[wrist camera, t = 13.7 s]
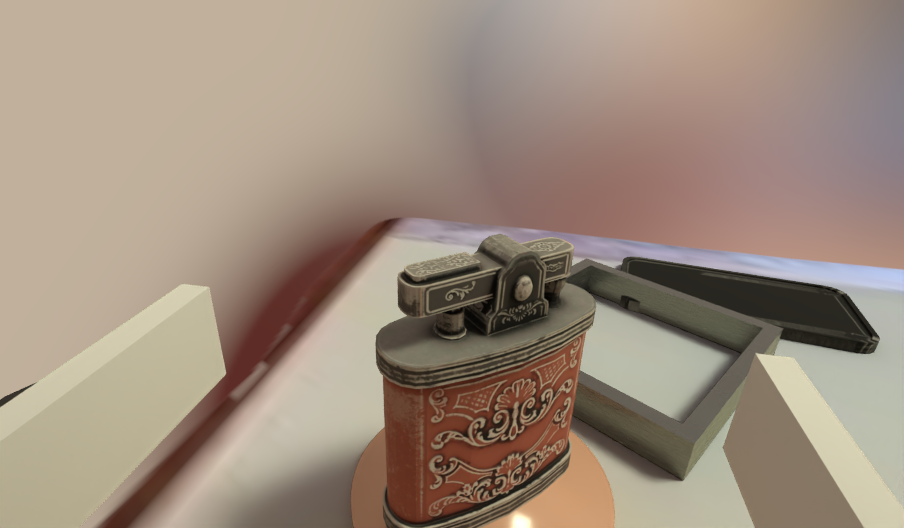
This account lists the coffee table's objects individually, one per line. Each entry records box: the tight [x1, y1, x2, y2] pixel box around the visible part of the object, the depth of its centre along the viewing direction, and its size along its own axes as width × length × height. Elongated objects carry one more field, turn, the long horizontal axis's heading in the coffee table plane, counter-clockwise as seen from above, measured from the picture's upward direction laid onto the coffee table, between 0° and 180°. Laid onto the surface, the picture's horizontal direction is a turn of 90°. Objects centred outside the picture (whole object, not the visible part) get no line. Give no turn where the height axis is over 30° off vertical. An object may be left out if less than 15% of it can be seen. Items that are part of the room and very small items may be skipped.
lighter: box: [376, 234, 596, 528], centre depth 17 cm, size 8×3×10 cm, turn 121°
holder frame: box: [565, 259, 783, 480], centre depth 29 cm, size 13×13×2 cm
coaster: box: [351, 427, 615, 528], centre depth 20 cm, size 10×10×1 cm
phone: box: [619, 257, 880, 354], centre depth 35 cm, size 8×1×15 cm
